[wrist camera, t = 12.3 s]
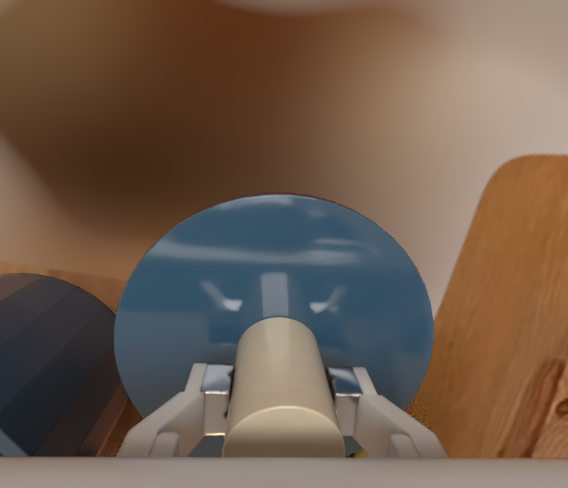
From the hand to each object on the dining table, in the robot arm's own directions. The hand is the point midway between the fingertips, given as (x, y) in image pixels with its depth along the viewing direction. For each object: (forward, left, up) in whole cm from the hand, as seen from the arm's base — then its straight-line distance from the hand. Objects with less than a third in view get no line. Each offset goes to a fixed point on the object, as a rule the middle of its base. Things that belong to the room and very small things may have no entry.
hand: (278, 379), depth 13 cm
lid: (0, 0, -2) cm, 2 cm away
